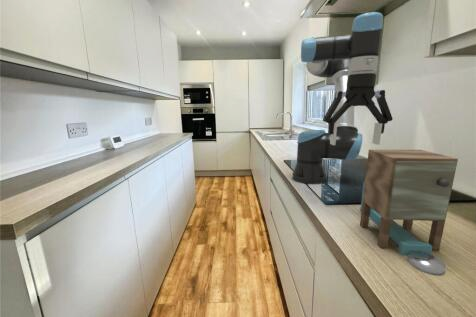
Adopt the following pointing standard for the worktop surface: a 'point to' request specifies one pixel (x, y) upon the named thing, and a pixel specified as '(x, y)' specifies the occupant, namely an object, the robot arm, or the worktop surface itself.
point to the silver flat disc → (426, 262)
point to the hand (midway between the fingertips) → (354, 144)
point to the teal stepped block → (400, 235)
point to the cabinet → (408, 190)
